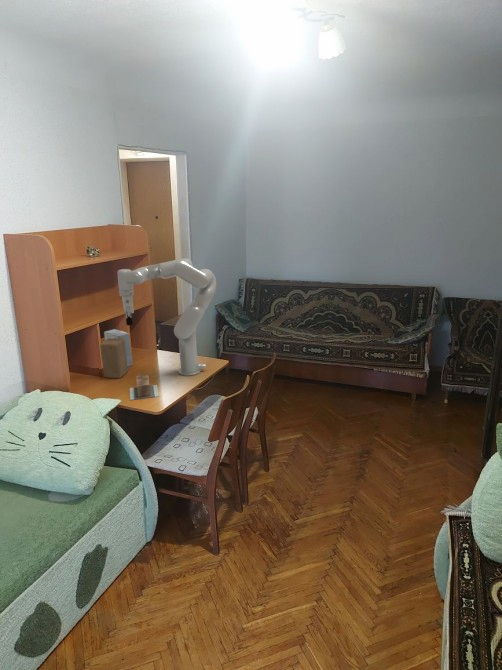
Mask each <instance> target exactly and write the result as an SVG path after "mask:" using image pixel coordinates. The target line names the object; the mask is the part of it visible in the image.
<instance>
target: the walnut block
mask: <svg viewBox="0 0 502 670" xmlns="http://www.w3.org/2000/svg"><path fill="white" fill-rule="evenodd" d="M135 378H136V387H137V390H138V398H139V397H147V396H151V394H150V386H151V385H150V378H149V374H141V375H136V377H135Z"/></svg>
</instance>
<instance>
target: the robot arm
mask: <svg viewBox="0 0 502 670" xmlns="http://www.w3.org/2000/svg"><path fill="white" fill-rule="evenodd" d="M116 274H117V282H118V283H117V285H118V293H119V296H120V297H121V300H122V306H123V311H124V314H125V321H126V322H125V324H126V326H133V318H132V314H134V313H135V310H134V301H133V300H134V299H133V296H134V295H135V294H134V292H135V291H134V285H140V284H143V283H144V282H146V281H148V280H149V281H150V280H154V279H160V278H161V279H165V280H167V279H171V278H175V277H176V278H177V277H178V278H179V279H181V280H182V281H184V282H186V283H188V284H189V285H191V286H193V287H195V288H198V291H197V292H196V294H195V295H194V297H193V299H192V301H191V302H190V303H189V304H188V305H187V306H186V307H185V309H183V312H182V313H181V315H180V316H179V318H178V320H177V322H176V323H175V326H174V328H173V334H174V336H175V337H176V338H177V339H178V349H179V351H178V352H179V360H180V361H179V362H180V363H179V365H180V368H179V369H178V370H177V371H178V372H177V373H178V374H179V375H181V376H187V377H188V376H189V377H190V376H195V375H198V374H199V373H201V371H202V369H204V368H205V369H206V368H207V365H206V363H199V362H198V350H197V326H198V324H199V322H200V321H201V319H202V318H203V317H204V314H205V312H206V311H207V308H208V307H209V305H210V302H211V301H212V299H213V298H214V295H215V293H216V291H217V278H216V276H215V274H214V273H213V272H212V270H210V269H208V268H201V269H200V270H199V269H197V268H195V267H194V265H193V262H192V260H191V259H189V258H187V257H185V258H184V257H183V258H178V259H175V260H169V261H166V262H165V261H164V262H160V263H155V264H151V265H146V266H142V267H138V268H136V269H134V270H131V269H129V268H122V269H118V270H117V273H116ZM201 368H202V369H201Z"/></svg>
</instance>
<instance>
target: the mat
mask: <svg viewBox="0 0 502 670" xmlns="http://www.w3.org/2000/svg"><path fill="white" fill-rule="evenodd" d="M150 394H151V396H147V397H139V398H138V390H137V386H136V387H130V388H129V401H133V400H136V401H137V400H142V399H150V398H158V397H160V395H159V387H158V385H157V384H153V385H150Z"/></svg>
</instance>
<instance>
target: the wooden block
mask: <svg viewBox="0 0 502 670" xmlns="http://www.w3.org/2000/svg"><path fill="white" fill-rule="evenodd" d="M99 346H100V347H99V348H100V353H101V354H100V355H101V361H102V371H103V377H104V378H111V379H121V378H123V376H125V375H126V374H127V373H128V372H129V369H128V367H127V360H126V351H125V342H124V339H107V340H105V339H104V340H103V341H102V342H101V343H100V345H99Z"/></svg>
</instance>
